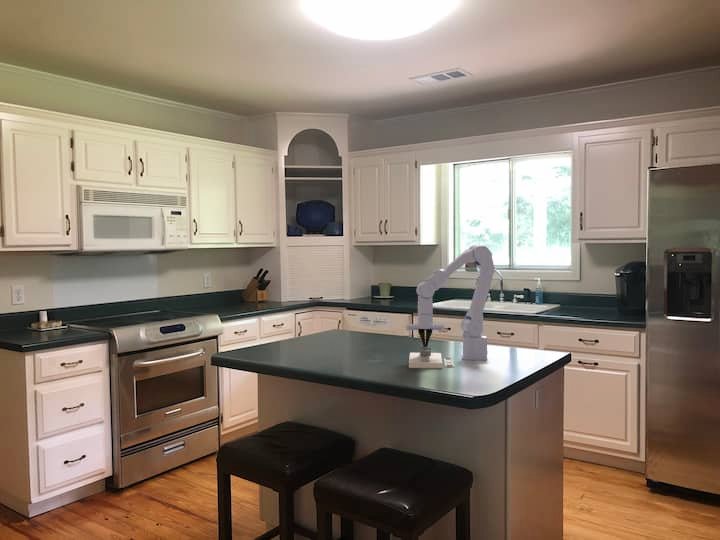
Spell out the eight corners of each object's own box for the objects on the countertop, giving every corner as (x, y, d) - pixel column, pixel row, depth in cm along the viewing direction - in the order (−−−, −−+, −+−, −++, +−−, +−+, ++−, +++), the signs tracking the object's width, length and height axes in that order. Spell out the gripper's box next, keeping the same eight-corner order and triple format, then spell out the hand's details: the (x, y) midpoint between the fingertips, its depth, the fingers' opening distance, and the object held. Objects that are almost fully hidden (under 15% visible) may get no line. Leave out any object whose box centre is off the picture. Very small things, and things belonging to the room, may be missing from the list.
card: (452, 359, 225) (452, 357, 225) (454, 367, 211) (454, 365, 211) (443, 359, 226) (443, 357, 226) (445, 367, 212) (445, 365, 212)
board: (441, 358, 228) (440, 352, 228) (442, 368, 210) (442, 362, 210) (410, 357, 229) (410, 352, 229) (408, 367, 211) (408, 362, 211)
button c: (430, 360, 215) (430, 349, 215) (430, 362, 211) (430, 351, 211) (420, 360, 216) (419, 349, 215) (419, 362, 212) (419, 351, 211)
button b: (430, 357, 221) (430, 346, 221) (430, 359, 217) (430, 348, 217) (420, 357, 222) (420, 346, 221) (420, 359, 218) (420, 348, 217)
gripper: (443, 312, 228) (444, 346, 228) (406, 312, 229) (406, 346, 230) (444, 314, 221) (444, 350, 221) (406, 314, 222) (406, 349, 223)
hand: (425, 348), depth 225 cm, fingers closed, pressing on button a
